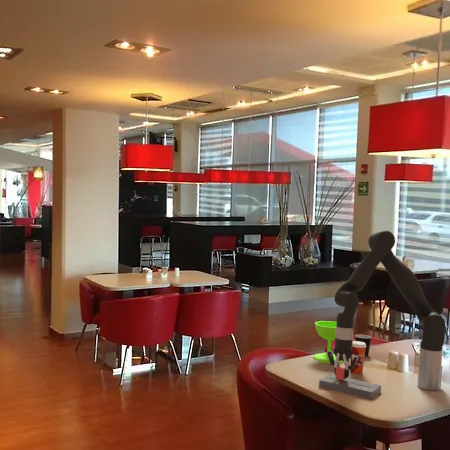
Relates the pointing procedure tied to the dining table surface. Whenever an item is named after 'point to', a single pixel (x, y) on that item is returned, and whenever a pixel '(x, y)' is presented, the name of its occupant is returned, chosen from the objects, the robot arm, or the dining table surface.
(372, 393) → the console
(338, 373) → the fader
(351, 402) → the dining table surface
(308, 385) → the dining table surface
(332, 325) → the wineglass
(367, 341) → the coffee mug
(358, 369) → the paper cup
